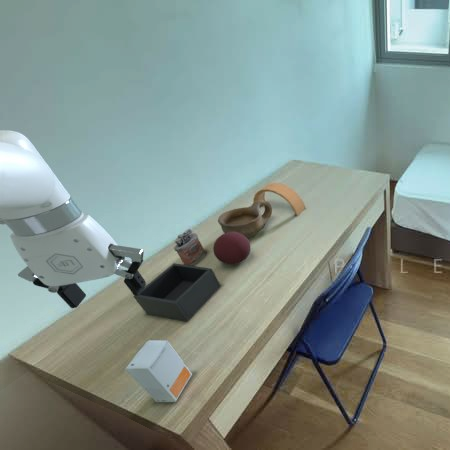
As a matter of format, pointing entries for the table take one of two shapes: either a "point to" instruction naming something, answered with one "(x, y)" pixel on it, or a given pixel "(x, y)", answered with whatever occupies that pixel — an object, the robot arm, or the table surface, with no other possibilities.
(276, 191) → the arch
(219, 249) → the decorative ball
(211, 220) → the table surface
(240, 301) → the table surface
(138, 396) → the table surface
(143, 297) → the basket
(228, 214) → the bowl
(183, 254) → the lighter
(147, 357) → the cosmetic box
